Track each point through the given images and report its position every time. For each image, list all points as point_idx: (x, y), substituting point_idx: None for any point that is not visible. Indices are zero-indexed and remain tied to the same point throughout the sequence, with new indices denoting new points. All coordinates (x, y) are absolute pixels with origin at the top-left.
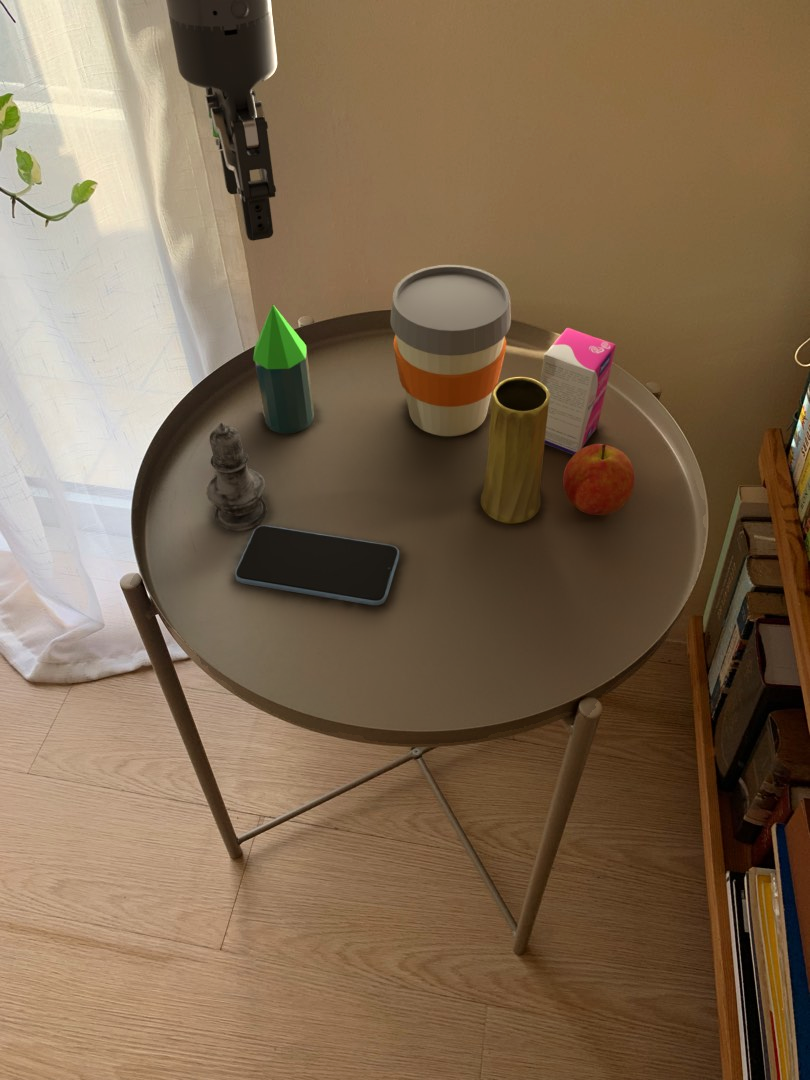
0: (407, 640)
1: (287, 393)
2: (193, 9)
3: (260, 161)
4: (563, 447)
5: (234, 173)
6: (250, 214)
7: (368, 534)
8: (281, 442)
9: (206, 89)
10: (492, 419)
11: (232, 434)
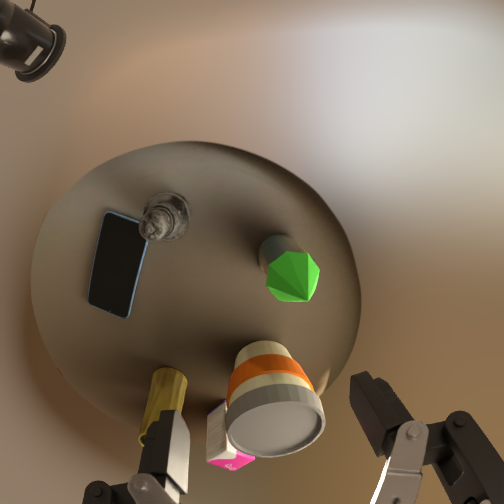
0: (71, 309)
1: (263, 270)
2: None
3: None
4: (212, 411)
5: (365, 410)
6: (141, 456)
7: (144, 301)
8: (248, 246)
9: (497, 477)
10: (156, 419)
11: (147, 237)
